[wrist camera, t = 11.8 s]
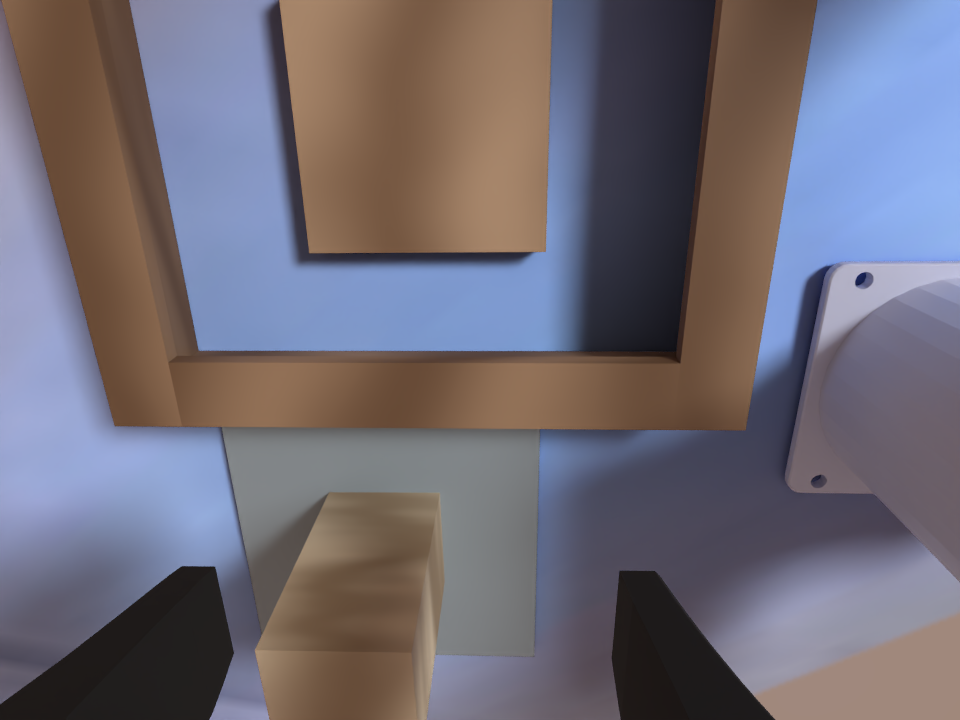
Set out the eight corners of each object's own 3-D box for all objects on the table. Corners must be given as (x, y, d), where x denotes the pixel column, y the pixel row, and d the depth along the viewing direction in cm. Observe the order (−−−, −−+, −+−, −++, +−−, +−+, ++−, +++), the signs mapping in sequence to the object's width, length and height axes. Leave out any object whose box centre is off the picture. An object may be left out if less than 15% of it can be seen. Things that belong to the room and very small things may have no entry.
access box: (792, -248, 14) (877, -356, 11) (707, 379, 20) (745, 430, 17) (45, -219, 15) (-82, -311, 12) (175, 377, 21) (114, 426, 18)
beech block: (439, 492, 22) (411, 652, 15) (444, 581, 23) (420, 761, 17) (329, 492, 22) (254, 649, 15) (341, 580, 23) (277, 758, 17)
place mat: (539, 406, 21) (540, 411, 20) (533, 648, 25) (534, 656, 25) (223, 404, 21) (218, 409, 21) (268, 643, 25) (264, 650, 25)
